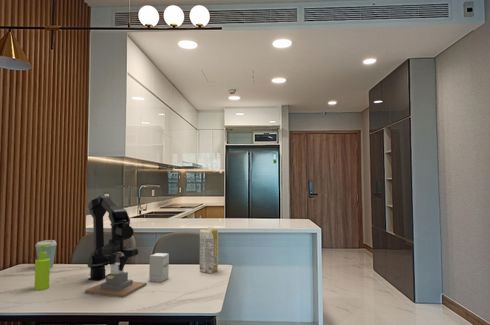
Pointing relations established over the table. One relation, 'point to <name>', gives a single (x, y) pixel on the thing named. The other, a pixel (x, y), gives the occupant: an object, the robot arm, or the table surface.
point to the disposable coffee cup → (48, 250)
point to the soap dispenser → (42, 269)
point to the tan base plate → (116, 286)
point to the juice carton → (208, 250)
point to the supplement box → (159, 267)
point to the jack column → (116, 269)
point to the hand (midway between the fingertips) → (117, 270)
